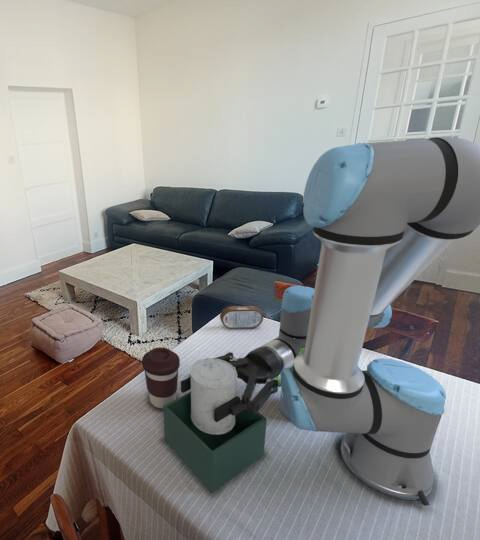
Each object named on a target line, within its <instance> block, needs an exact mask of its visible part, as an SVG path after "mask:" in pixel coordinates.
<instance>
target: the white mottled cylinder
mask: <svg viewBox="0 0 480 540" xmlns="http://www.w3.org/2000/svg"><path fill="white" fill-rule="evenodd" d="M190 374H191V389H190V391H191V419H192V422H193V423H194V425H195V426H196V427H197V428H198V429H200V430H201V431H203V432H205V433H209V434H214V435H219V434H224V433H227V432H229V431H230V430H231V429H232V428H233V427H234V425H235V415H234V416H233V415H231V414H230V415H228V416H227V417H225V418H224V419H222V420H220V421H219V422H215V421H214V410H215V409H216V408H218V407H220V406H221V405H223V404H225V403H226V402H228V401H230V400H231V399H233V398H235V397H236V396H237V382H238V381H237V380H238V377H237V371H236V369H235V367H233V366H232V365H231V364H230V363H228V362H226V361H224V360H221V359H216V357H207V358H206V357H205V358H202V359H199V360H196V361H194V362H193V364H192V365H191V366H190V369H189V375H190Z"/></svg>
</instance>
